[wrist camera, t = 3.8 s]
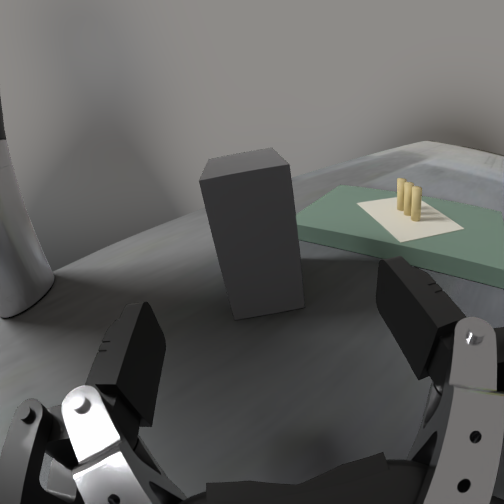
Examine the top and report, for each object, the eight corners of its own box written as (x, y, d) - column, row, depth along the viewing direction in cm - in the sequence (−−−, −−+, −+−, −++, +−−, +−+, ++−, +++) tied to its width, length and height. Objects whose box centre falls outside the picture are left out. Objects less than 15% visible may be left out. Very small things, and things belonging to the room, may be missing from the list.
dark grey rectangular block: (304, 307, 18) (289, 164, 14) (234, 320, 18) (198, 180, 14) (287, 258, 24) (272, 147, 19) (233, 268, 24) (208, 159, 19)
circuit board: (286, 236, 27) (280, 191, 25) (340, 196, 34) (338, 161, 32) (505, 289, 14) (521, 232, 12) (499, 225, 22) (504, 184, 19)
